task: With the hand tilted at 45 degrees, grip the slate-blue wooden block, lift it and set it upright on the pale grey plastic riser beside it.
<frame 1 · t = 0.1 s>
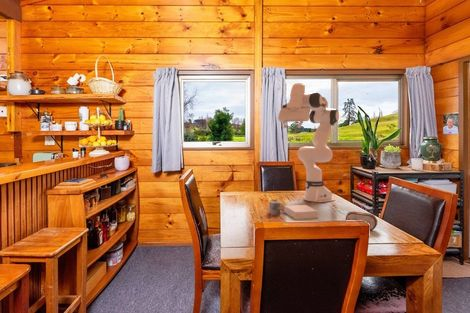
hand: (291, 127, 195), 52 cm above the table, tool tilted 20°, fingers open, 8 cm apart
block: (274, 213, 188), on the table
grey rounded slab: (360, 229, 159), on the table
riser: (300, 214, 186), on the table
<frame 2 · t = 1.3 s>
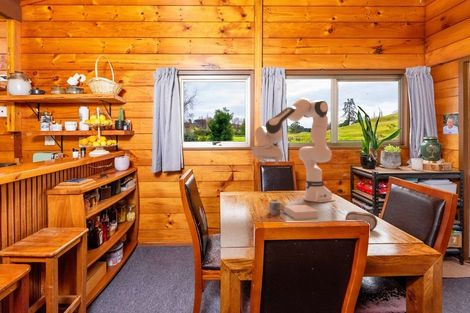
hand: (270, 163, 197), 30 cm above the table, tool tilted 45°, fingers open, 8 cm apart
nothing on the table moved.
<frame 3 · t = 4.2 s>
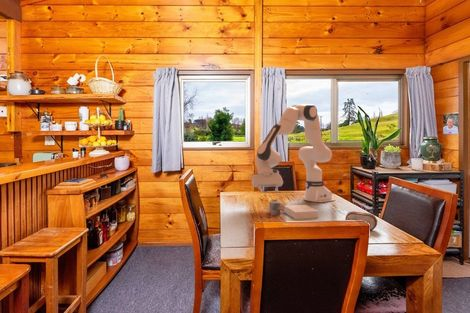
hand: (269, 191, 196), 12 cm above the table, tool tilted 45°, fingers open, 8 cm apart
nothing on the table moved.
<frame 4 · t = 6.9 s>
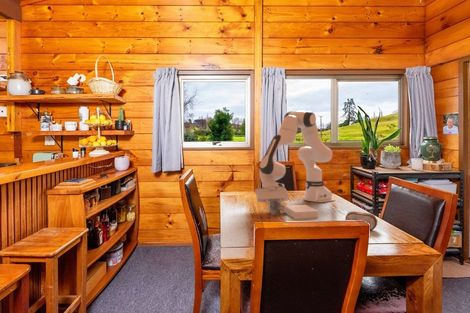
hand: (275, 206, 187), 4 cm above the table, tool tilted 45°, fingers closed on block, 5 cm apart
block: (274, 213, 188), on the table, touching gripper
everything else where it was.
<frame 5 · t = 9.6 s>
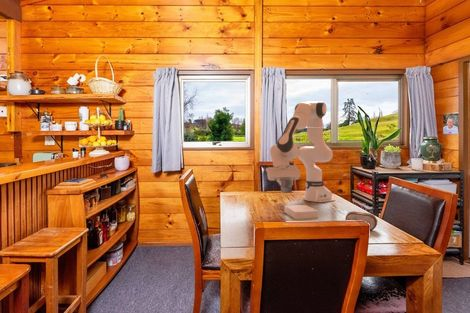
hand: (286, 184, 186), 18 cm above the table, tool tilted 45°, fingers closed on block, 5 cm apart
block: (286, 192, 187), point 13 cm above the table, touching gripper
everything else where it was.
when the fingers open (10 cm above the table, at t = 12.6 s): block drops 1 cm, resting on riser.
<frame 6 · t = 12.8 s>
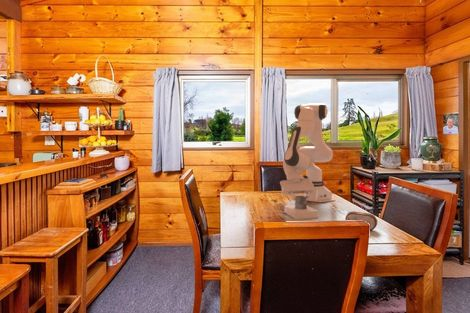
hand: (301, 198, 184), 10 cm above the table, tool tilted 45°, fingers open, 7 cm apart
block: (300, 208, 185), point 4 cm above the table, touching riser
everything else where it was.
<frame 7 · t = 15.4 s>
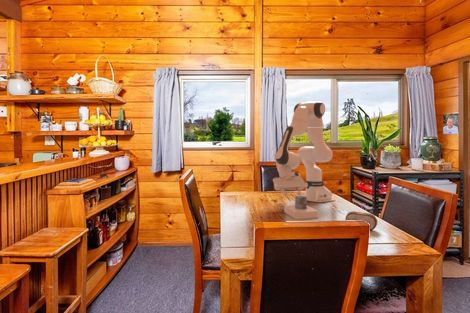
hand: (292, 194, 197), 10 cm above the table, tool tilted 45°, fingers open, 8 cm apart
nothing on the table moved.
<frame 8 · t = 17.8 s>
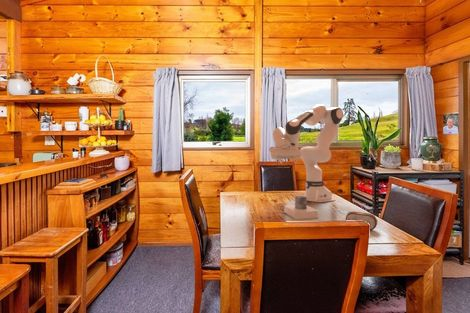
hand: (288, 162, 202), 29 cm above the table, tool tilted 45°, fingers open, 8 cm apart
nothing on the table moved.
at the end: block inside the target area on the riser (0.0 cm from its centre), point 4.0 cm above the riser's base; block tilted 0°; the gripper is holding nothing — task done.
